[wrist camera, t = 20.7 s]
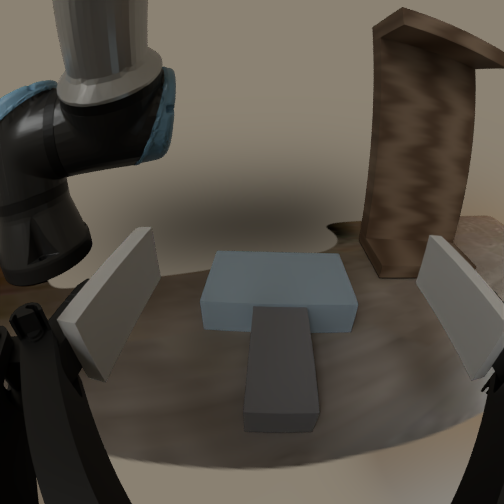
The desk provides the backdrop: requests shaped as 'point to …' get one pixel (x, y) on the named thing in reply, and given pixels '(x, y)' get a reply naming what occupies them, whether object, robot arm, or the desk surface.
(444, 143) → the shelf stand
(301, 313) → the grey toy mallet
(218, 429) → the desk surface
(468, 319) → the robot arm
